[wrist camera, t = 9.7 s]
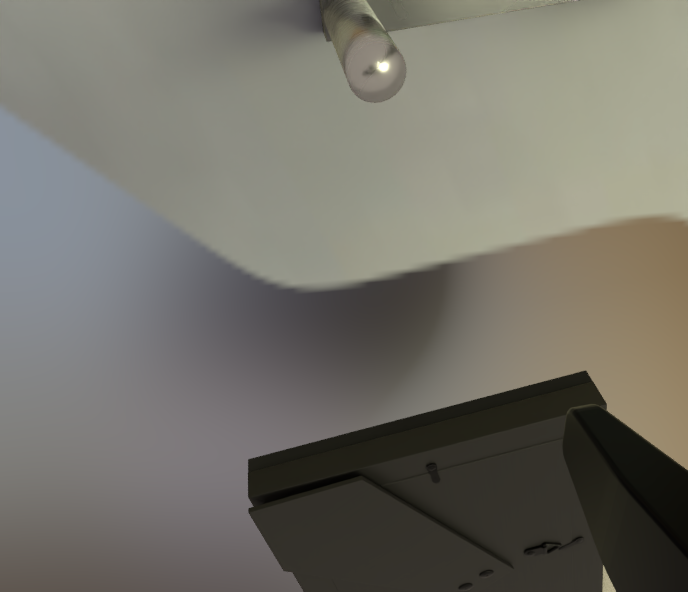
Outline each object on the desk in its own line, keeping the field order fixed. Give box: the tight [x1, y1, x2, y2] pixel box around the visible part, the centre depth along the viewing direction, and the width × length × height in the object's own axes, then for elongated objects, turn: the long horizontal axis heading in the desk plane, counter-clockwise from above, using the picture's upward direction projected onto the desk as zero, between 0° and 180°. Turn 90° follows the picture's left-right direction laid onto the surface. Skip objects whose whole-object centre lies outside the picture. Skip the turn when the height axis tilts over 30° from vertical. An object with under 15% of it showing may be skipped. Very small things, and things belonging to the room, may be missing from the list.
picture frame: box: [248, 371, 607, 592], centre depth 34 cm, size 16×3×21 cm
